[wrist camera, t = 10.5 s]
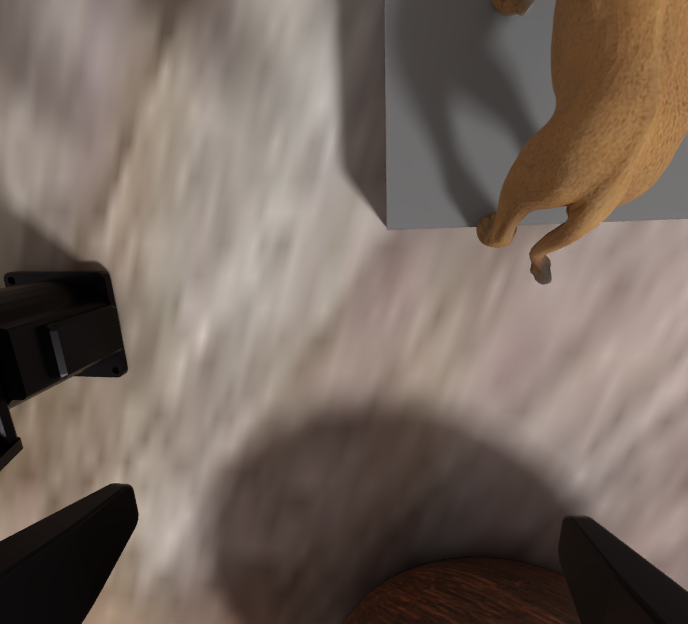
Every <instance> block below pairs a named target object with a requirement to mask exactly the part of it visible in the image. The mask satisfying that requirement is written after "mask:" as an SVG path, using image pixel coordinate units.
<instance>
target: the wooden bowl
mask: <svg viewBox="0 0 688 624" xmlns="http://www.w3.org/2000/svg"><path fill="white" fill-rule="evenodd" d="M343 624H581V622H580V619H579V616H578V613H577V610H576V607H575V604H574V601H573V599H572V596H571V593H570V590H569V587H568V584H567V581H566V578H565V576H563V575H561V574H558V573H556V572H553V571H550V570H547V569H544V568H541V567H537V566H534V565H530V564H526V563H521V562H517V561H512V560H504V559H497V558H482V557H479V558H456V559H448V560H442V561H436V562H432V563H428V564H424V565H421V566H418V567H415V568H412V569H409V570H407V571H405V572H403V573H400V574H398V575H396V576H394V577H392V578H391V579H389V580H387V581H385V582H384V583H382V584H380V585H379V586H378V587H376V588H375V589H373V590H372V591H371V592H370V593H368V594H367V595H366V596H365V597H364V598H363V599H362V600H361V601H360V602H359V603H358V604H357V606H356V607H355V608H354V609H353V610H352V612H351V613H350V614H349V615H348V617H347V618H346V619H345V621H344V622H343Z"/></svg>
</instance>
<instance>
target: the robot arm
mask: <svg viewBox="0 0 688 624" xmlns="http://www.w3.org/2000/svg"><path fill="white" fill-rule="evenodd" d="M99 278H101V283H100V282H99ZM15 281H16V282H15ZM4 282H5V286H6V288H1V289H0V471H1V470H2V469H3V468H4V467H5V466H6V465H7V464H8V463H9V462H10V461H11V460H12V459H13V458H14V457H15V456H16V455H17V454H18V453H19V452H20V451H21V450H22V449H23V445H22V442H21V438H20V437H17V434H16V431H15V427H14V424H13V421H12V417H11V414H10V411H9V409H10V408H12V407H14V406H16V405H18V404H20V403H22V402H24V401H26V400H28V399H30V398H32V397H34V396H36V395H38V394H40V393H42V392H43V391H45V390H47V389H49V388H51V387H53V386H55V385H57V384H59V383H61V382H63V381H65V380H67V379H69V378H71V377H73V376H86V377H121V376H122V375H124V374H125V373H127V371H128V366H127V361H126V356H125V351H124V346H123V341H122V336H121V331H120V325H119V320H118V315H117V310H116V305H115V300H114V295H113V289H112V284H111V279H110V277H109V275H108V274H107V273H106V272H104V271H16V272H9V273H6V274H5V276H4ZM116 366H117V367H118V368H119V370H118V369H117V367H116ZM138 515H139V514H138V508H137V504H136V499H135V494H134V490H133V487H132V486H131V485H129V484H119V483H113V484H110V485H107V486H106V487H104V488H102V489H100V490H98V491H96V492H94V493H92V494H90V495H88V496H86V497H84V498H82V499H81V500H79V501H77V502H75V503H73V504H71V505H69V506H67V507H65V508H63V509H61V510H59V511H58V512H56V513H54V514H52V515H50V516H48V517H46V518H44V519H42V520H40V521H38V522H36V523H35V524H33V525H31V526H29V527H27V528H25V529H23V530H21V531H19V532H17V533H15V534H13V535H12V536H10V537H8V538H6V539H4V540H2V541H0V624H82V622H83V621H84V619H85V618H86V616H87V614H88V613H89V611H90V609H91V608H92V606H93V605H94V603H95V601H96V599H97V597H98V596H99V594H100V592H101V590H102V589H103V587H104V585H105V583H106V581H107V579H108V577H109V576H110V574H111V572H112V570H113V568H114V566H115V564H116V563H117V561H118V559H119V557H120V555H121V553H122V552H123V550H124V548H125V546H126V544H127V542H128V540H129V539H130V537H131V535H132V533H133V531H134V529H135V527H136V525H137V522H138ZM558 555H559V560H560V563H561V566H562V569H563V572H564V575H565V578H566V581H567V584H568V587H569V590H570V593H571V596H572V599H573V601H574V604H575V607H576V610H577V613H578V616H579V619H580V622H581V624H688V591H686V590H685V589H684V588H682V587H681V586H680V585H679V584H677V583H676V582H675V581H673V580H672V579H671V578H669V577H668V576H667V575H665V574H664V573H663V572H661V571H660V570H659V569H658V568H656V567H655V566H654V565H652V564H651V563H650V562H648V561H647V560H646V559H644V558H643V557H642V556H640V555H639V554H638V553H637V552H635V551H634V550H633V549H631V548H630V547H629V546H627V545H626V544H625V543H623V542H622V541H621V540H620V539H618V538H617V537H616V536H614V535H613V534H612V533H610V532H609V531H608V530H606V529H605V528H604V527H602V526H601V525H600V524H599V523H597V522H596V521H595V520H593V519H592V518H590V517H588V516H581V515H566V516H565V517H564V518H563V522H562V528H561V533H560V539H559V545H558Z"/></svg>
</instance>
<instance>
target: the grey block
mask: <svg viewBox="0 0 688 624" xmlns="http://www.w3.org/2000/svg"><path fill="white" fill-rule="evenodd" d="M555 3H556V0H535V2H534V3H533V5H532V6H531V8H530V9H529V10H528V11H527V12H526V13H525V14H524V15H522V16H520V15H518V16H513V17H507V16H504V15H503V14H502V13H500V12H499V11H498V10H497V9H496V8H495V6H494V4H493V2H492V0H384V31H385V129H386V226H387V230H401V229H428V228H455V227H477V224H478V222H479V221H480V220H481V219H482V217H483V216H485V215H488V214H489V213H491V212H494V211H496V212H497V207H498V201H499V196H500V192H501V189H502V186H503V183H504V181H505V178H506V176H507V174H508V172H509V170H510V168H511V167H512V165H513V163H514V162H515V160H516V158H517V157H518V155H519V153H520V151H521V150H522V148H523V147H524V146H525V144H526V143H527V142H528V141H529V140H530V139H531V138H532V137H533V136H534V135H535V134H536V133H537V132H538V131H539V130H540V129H541V128H542V127H543V126H544V125H545V124H546V123H547V122H548V121H549V120H550V119H551V117H552V116H553V114H554V111H555V107H556V97H555V94H554V91H553V88H552V79H551V40H552V28H553V16H554V10H555ZM566 209H567V206H563V207H557V208H550V209H542V210H536V211H533V212H530V213H528V214H527V215H526V216H525V217H524V218H523V219H522V220H521V222H520V223H519V224H518V225H534V224H561V223H564V222H566V220H567V219H568V215H567V213H566ZM667 219H688V132H687V134H686V135H685V137H684V139H683V140H682V142H681V144H680V146H679V147H678V149H677V151H676V152H675V154H674V156H673V158H672V160H671V162H670V164H669V165H668V167H667V168H666V170H665V171H664V172H663V174H662V175H661V176H660V178H659V179H658V180H657V182H656V183H655V184H654V185H653V186H652V187H651V188H650V189H649V190H647V191H646V192H645V193H643V194H642V195H640V196H639V197H637V198H636V199H634V200H632V201H630V202H628V203H626V204H624V205H621V206H617V207H616V208H615V209H614V210H613V211H612V213H611V214H610V215H609V216H608V217H607V218H606V219H605V220H603V221H602V222H614V221H641V220H667Z"/></svg>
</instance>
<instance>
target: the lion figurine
mask: <svg viewBox="0 0 688 624" xmlns="http://www.w3.org/2000/svg"><path fill="white" fill-rule="evenodd" d="M492 2H493V4H494V6H495V8H496V9H497V10H498V11H499V12H500V13H502V14H503V15H504V16H507V17H513V16H518V15H520V16H522V15H524V14H525V13H526V12H527V11H528V10H529V9H530V8H531V6H532V5H533V3H534V2H535V0H492ZM551 79H552V88H553V91H554V94H555V97H556V107H555V111H554V114H553V116H552V117H551V119H550V120H549V121H548V122H547V123H546V124H545V125H544V126H543V127H542V128H541V129H540V130H539V131H538V132H537V133H536V134H535V135H534V136H533V137H532V138H531V139H530V140H529V141H528V142H527V143H526V144H525V146H524V147H523V148H522V150H521V151H520V153H519V155H518V157H517V158H516V160H515V162H514V163H513V165H512V167H511V168H510V170H509V172H508V174H507V176H506V178H505V181H504V183H503V186H502V189H501V192H500V196H499V201H498V207H497V212H496V211H494V212H491V213H489V214H488V215H485V216H483V217H482V219H481V220H480V221H479V222H478V224H477V235H478V238H479V240H480V241H481V242H482V243H483V244H485V245H486V246H489V247H495V248H499V247H503V246H506V245H508V244H510V243H511V242H512V240H513V238H514V235H515V233H516V229H517V226H518V224H519V223H520V222H521V220H522V219H523V218H524V217H525V216H526V215H527V214H528V213H530V212H533V211H536V210H542V209H550V208H557V207H563V206H567V209H566V213H567V215H568V219H567V220H566V222H564V223H563V224H561V225H560V226H558V227H557V228H555V229H554V230H552V231H551V232H549V233H548V234H546V235H545V236H544V237H543V238H542V239H541V240H539V241H538V242H537V243H536V244H535V245H534V246H533V247H532V249H531V251H530V253H529V255H530V259H531V262H532V264H531V269H530V272H531V273H532V274H533V275H534V277H535V280H536V281H537V282H538V283H540V284H548V283H550V282H551V280H552V277H551V271H550V266H551V263H550V260H549V258H548V257H547V256H546V254H548V253H551V252H553V251H556V250H558V249H560V248H562V247H565V246H567V245H569V244H571V243H573V242H575V241H576V240H578V239H579V238H581V237H582V236H583V235H585V234H586V233H588V232H589V231H591V230H592V229H594V228H595V227H597V226H598V225H599V224H600V223H601V222H602V221H603V220H605V219H606V218H607V217H608V216H609V215H610V214H611V213H612V211H613V210H614V209H615V208H616V207H617V206H621V205H624V204H626V203H628V202H630V201H632V200H634V199H636V198H637V197H639V196H640V195H642V194H643V193H645V192H646V191H647V190H649V189H650V188H651V187H652V186H653V185H654V184H655V183H656V182H657V180H658V179H659V178H660V176H661V175H662V174H663V172H664V171H665V170H666V168H667V167H668V165H669V164H670V162H671V160H672V158H673V156H674V154H675V152H676V151H677V149H678V147H679V146H680V144H681V142H682V140H683V139H684V137H685V135H686V134H687V132H688V0H556V3H555V10H554V16H553V28H552V40H551Z"/></svg>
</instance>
